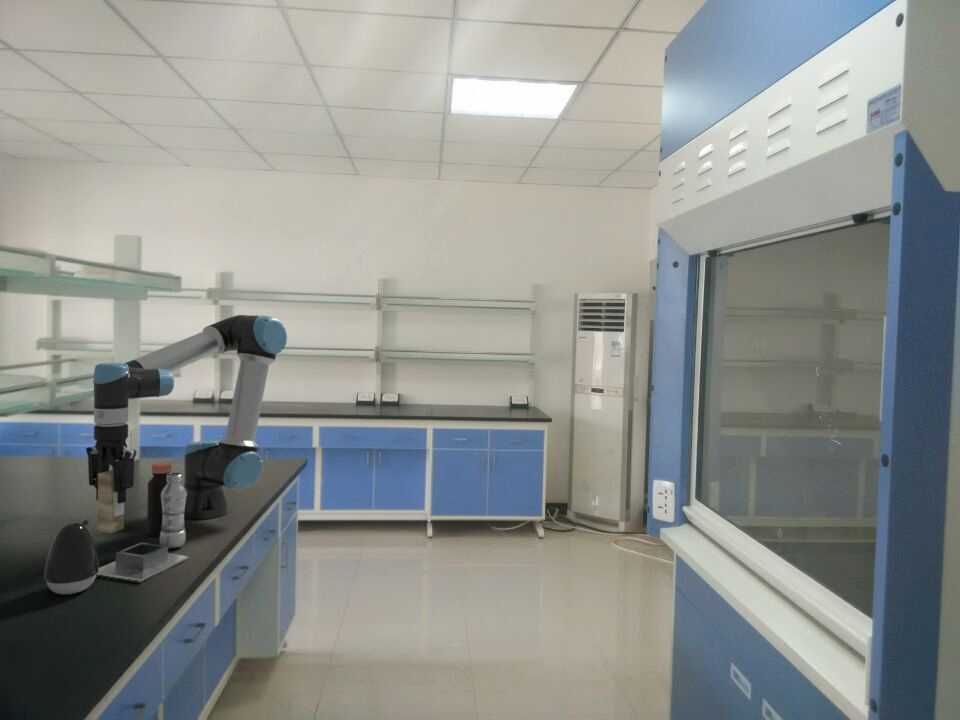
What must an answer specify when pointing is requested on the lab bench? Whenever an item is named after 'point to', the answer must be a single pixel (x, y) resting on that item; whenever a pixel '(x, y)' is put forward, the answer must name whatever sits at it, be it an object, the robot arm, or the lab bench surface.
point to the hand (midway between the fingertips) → (111, 513)
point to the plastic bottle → (173, 512)
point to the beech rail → (107, 504)
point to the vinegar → (156, 497)
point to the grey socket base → (140, 562)
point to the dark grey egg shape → (71, 560)
